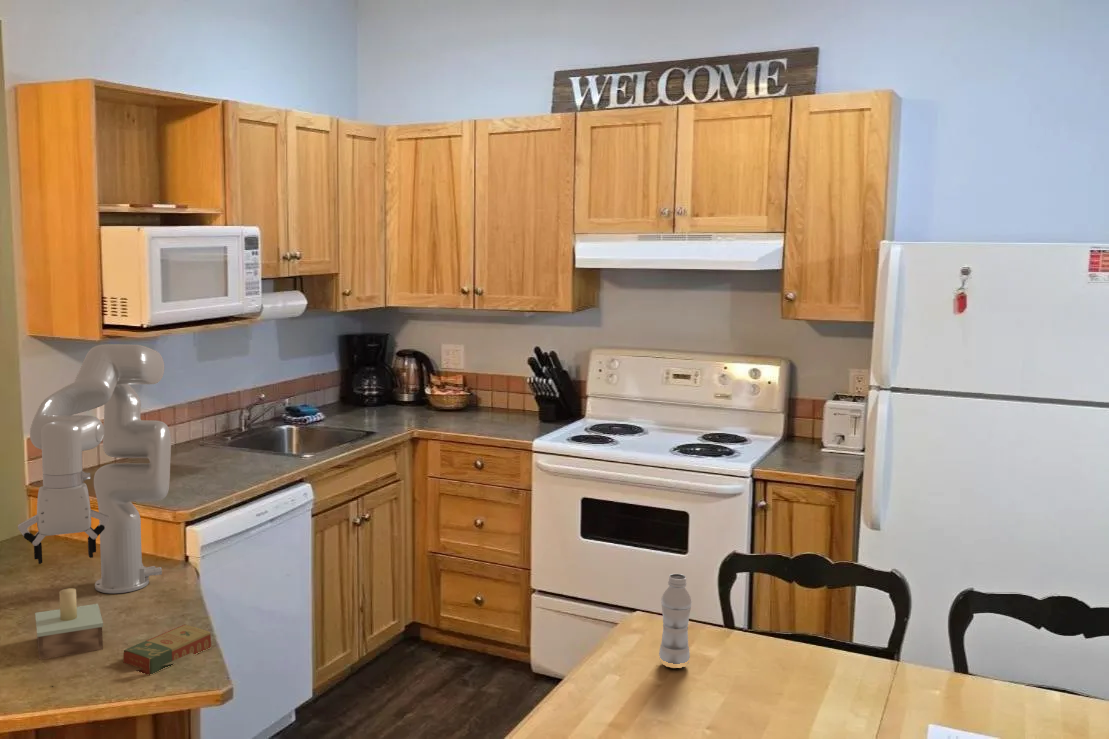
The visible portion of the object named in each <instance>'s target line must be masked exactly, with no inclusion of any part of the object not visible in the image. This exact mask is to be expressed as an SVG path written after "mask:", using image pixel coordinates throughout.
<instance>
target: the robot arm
mask: <svg viewBox="0 0 1109 739" xmlns="http://www.w3.org/2000/svg"><path fill="white" fill-rule="evenodd" d="M164 374H165V362H164V359H163V357H162V355H161V353H160V352H159V351H158V350H155V349H152V348H151V347H148V346H145V345H141V344H125V343H124V344H122V343H121V344H112V343H111V344H110V343H109V344H107V343H106V344H98V345H94V346H93V347H91V348H90V349H89V350H88V352H87V353H86V355H85V358H84V359H83V362H82V364H81V366H80V368H79V370H78V373H77V374H76V377H75V379H74V381H73V382H71V383H70V384H68V385H65V386H64V387H62V388H61V389H59V390H57V391H55V392H53V393H51V394H50V395H49V396H48V397H46V398H45V399H44V400H43V401H42V402H41V403H40V405H39V406H38V408H37V411H36V413H35V415H34V417H33V420H32V421H31V424H30V425H31V426H30V429H29V439H30V441H31V444H32V445H33V446H34V447H35V448H36V449H39V450H41V464H42V465H41V466H42V486H40V487H39V488H38V493H37V501H36V502H37V503H36V514H35V515H34V516H31V517H29V518H28V519H26V520H24V521H23V522H21V523H19V524H18V525H17V529H18V531H19V532H20V533H21V535H22V536H23V537H24V538H23V539H25V540H26V541H28V542H30V544H32V545H33V554H34V560H37V563H38V565H41V564H43V545H42V541H43V540H44V539H45V537H49V536H50V537H51V536H56V535H57V536H59V535H66V534H67V535H68V534H75V533H76V534H77V533H83V532H84V533H85V534H86V535H87V536H88V537H87V553H88V557H89V558H90V559H93V558H94V553H97V541H96V540H97V538H98V536H99V544H100V545H99V547H100V573H101V576H100V577H101V578H99V579H98V580H96V581H95V583H94V589H95V591H97V592H99V593H104V594H124V593H129V592H130V593H131V592H134V591H139V590H141V589H142V588H145V587H147V585H149V583H150V578H149V577H150V576H160V575H161V576H162V574H163V569H162V566H158V567H156V565H152V566H151V565H150V566H144V563H143V559H142V557H143V556H142V529H141V528H142V524H141V523H142V520H141V516H140V512H139V511H138V509H137V507H136V506H135V505H134V503H133V502H155V501H156V502H158V501H162V500H163V499H165V498H166V497H167V496H168V494H169V488H170V481H171V455H172V453H171V451H172V437H171V431H170V428H169V426H168V425H167V423H165V422H164V421H161V420H155V419H154V420H152V419H151V420H147V419H146V420H142V419H141V414H142V413H141V407H142V401H141V399H140V396H139V395H138V393H137V392H136V391H135V390H134V388H133V387H132V386H131V385H156V384H159V383H160V381H162V379H163V377H164ZM102 406H104V407H103V422H102V421H101V419H99V418H98V417H96V416H93V415H79V414H81V413H85V412H89V411H91V410H95V409H97V408H99V407H102ZM77 414H78V415H77ZM101 443H102V450H103V451H104V454H105V455H107V456H108V457H111V458H115V459H116V458H117V459H118V458H119V459H123V458H124V459H148V460H149V462H148V463H144V462H143V463H142V462H140V463H136V462H135V463H134V462H130V463H128V462H125V463H124V462H123V463H121V462H118V463H110V464H105V465H103V466H100V467H99V468H98V469H97V470H96V471H95V473H94V476H93V489H94V492H95V497H96V501H97V506H98V511H97V510H94V509H92V508H91V503H90V501H91V500H90V495H89V490H88V489H89V488H88V486H87V484H86V483H85V481H87V480H91V472H85V471H83V452H85V451H90V450H93V449H95V448H97V447H98V446H100V444H101ZM92 518H94V519H95V520H99V524H98V525H97V526H96V527H95V528H93V527H92ZM35 524H36V527H37V530H38V531H37V532H36V533H35V534H33V533H32V532H30V531H29V529H28V528H29V527H31V526H33V525H35Z"/></svg>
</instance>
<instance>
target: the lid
mask: <svg viewBox="0 0 1109 739" xmlns="http://www.w3.org/2000/svg"><path fill="white" fill-rule="evenodd" d="M77 602H78V601H77V589H76V588H64V589H61V590H60V591H59V609H51V610H46V611H39V612H38V611H37V612H35V613H34V616H35V627H36V637H41V636H47V635H53V634H60V633H66V632H73V631H79V630H85V629H92V628H98V627H102V628H104V620H103V617H102V614H101V609H100V606H99V603H93V604H87V605H86V604H85V605H80V606H79V605H77Z"/></svg>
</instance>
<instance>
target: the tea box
mask: <svg viewBox="0 0 1109 739" xmlns="http://www.w3.org/2000/svg"><path fill="white" fill-rule="evenodd" d="M36 637H37V636H36ZM103 638H104V637H103V627H98V628H92V629H85V630H79V631H73V632H66V633H60V634H53V635H47V636H41V637H37V648H38V658H39V659H38V660H45V659H52V658H58V657H64V656H70V655H71V656H72V655H76V654H83V653H88V652H94V651H99V650H103V649H104V641H103Z"/></svg>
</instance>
